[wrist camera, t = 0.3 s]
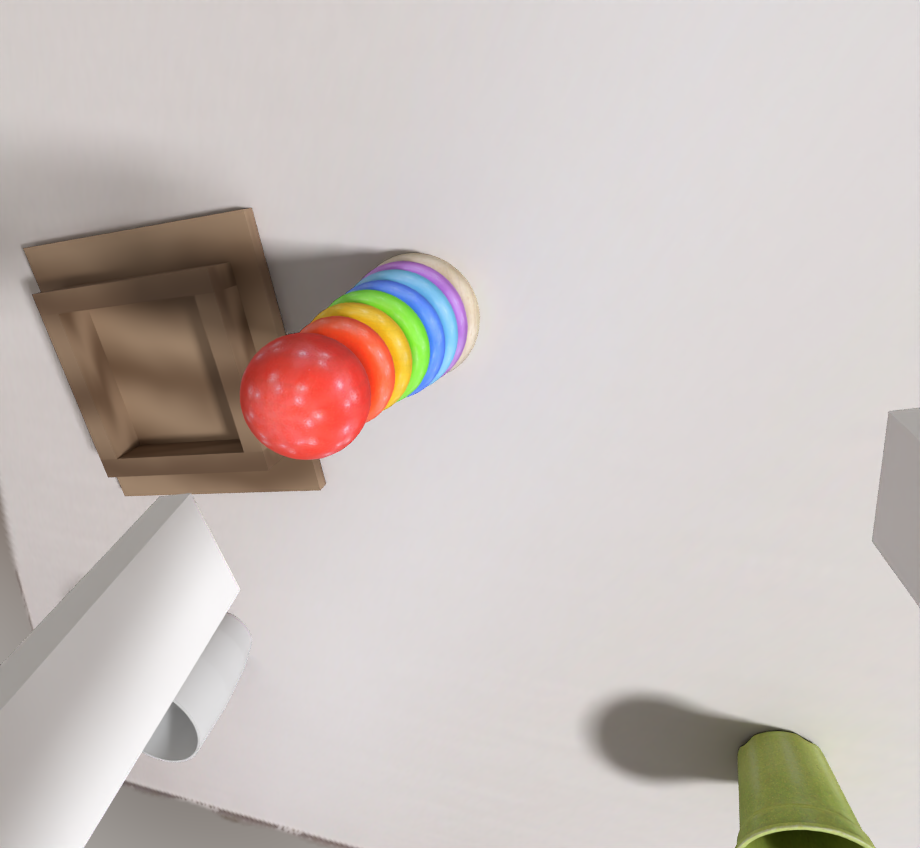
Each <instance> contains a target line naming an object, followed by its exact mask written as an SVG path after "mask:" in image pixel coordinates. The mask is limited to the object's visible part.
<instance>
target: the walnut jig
mask: <svg viewBox="0 0 920 848" xmlns="http://www.w3.org/2000/svg"><path fill="white" fill-rule="evenodd" d="M23 249H24V252H25V254H26V256H27V259H28V261H29V264H30V266H31V269H32V271H33V274H34V276H35V278H36V281H37V283H38V286H39V288H40V291H41V293H36V294H32V296H33V298H34V300H35V303H36V305H37V308H38V310H39V312H40V315H41V317H42V320H43V322H44V324H45V327H46V329H47V332H48V334H49V336H50V339H51V341H52V344H53V346H54V348H55V351H56V353H57V356H58V358H59V360H60V363H61V365H62V368H63V370H64V372H65V375H66V377H67V380H68V382H69V385H70V387H71V389H72V392H73V394H74V397H75V399H76V401H77V404H78V406H79V409H80V411H81V413H82V416H83V418H84V421H85V423H86V425H87V428H88V430H89V433H90V435H91V437H92V440H93V442H94V445H95V447H96V449H97V452H98V454H99V457H100V459H101V461H102V464H103V466H104V469H105V471H106V473H107V476H108V477H117V478H118V481H119V483H120V486H121V488H122V491H123V493H124V495H125V496H146V495H177V494H186V493H191V494H212V493H245V492H278V491H311V490H321V489H322V488H323V487H324V485H325V484H326V482H325V478H324V474H323V471H322V467H321V463H320V460H319V459H313V460H301V459H293V458H289V457H286V456H283V455H280V454H278V453H276V452H274V451H272V450H271V449H269V448H267V447H266V446H265V445H263V444H262V443H261V442H260V441H259V440H258V439H257V438H256V437H255V435H254V434H253V433H252V432H251V430H250V429H249V427H248V425H247V424H246V421H245V419H244V416H243V413H242V409H241V404H240V385H241V381H242V377H243V374H244V371H245V370H246V368H247V366H248V364H249V363H250V361H251V360H252V358H253V357H254V355H255V354H256V353H257V352H258V351H259V350H260V349H261V348H262V347H264V346H265V345H267V344H268V343H269V342H271V341H273V340H275V339H277V338H279V337H281V336H285V335H286V333H285V330H284V326H283V322H282V318H281V315H280V311H279V307H278V303H277V300H276V296H275V292H274V289H273V285H272V281H271V277H270V274H269V270H268V266H267V263H266V259H265V255H264V251H263V248H262V244H261V240H260V237H259V233H258V229H257V225H256V222H255V218H254V214H253V211H252V208H248V209H241V210H236V211H230V212H225V213H219V214H213V215H208V216H202V217H196V218H191V219H185V220H180V221H174V222H168V223H163V224H157V225H151V226H146V227H140V228H135V229H129V230H123V231H118V232H112V233H107V234H101V235H95V236H90V237H84V238H78V239H73V240H67V241H62V242H56V243H50V244H45V245H39V246H33V247H28V248H23Z"/></svg>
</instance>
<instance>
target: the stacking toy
mask: <svg viewBox="0 0 920 848" xmlns="http://www.w3.org/2000/svg"><path fill="white" fill-rule="evenodd" d="M479 320H480V316H479V307H478V303H477V299H476V296H475V294H474V292H473V289H472V288H471V286H470V284H469V282H468V281H467V280H466V278H465V277H464V276H463V275H462V274H461V273H460V272H459V271H458V270H457V269H456V268H455V267H453V266H452V265H451V264H449V263H448V262H446V261H444V260H442V259H440V258H438V257H435V256H432V255H428V254H422V253H407V254H401V255H397V256H395V257H392V258H390V259H388V260H386V261H384V262H382V263H381V264H380V265H378V266H377V267H376V268H375V269H373V270H372V271H370V272H369V273H368V274H366V275H365V276H364V277H363V278H362V279H361V281H360V282H359V283H357V284H356V285H355V287H354V288H352V289H351V290H349V291H348V292H347V293H346V294H345V295H343V296H341V297H339V298H338V299H337V300H335V301H334V302H333V303H332V304H331V305H330V306H329V307H328V308H327V309H325V310H324V311H322V312H321V313H319V314H318V315H317V316H316V317H315V318H314V319H313V321H312V322H311V323H310V324H309V325H307V326H306V327H304V328H303V329H302V330H301V331H300V332H299V333H294V334H289V335H285V336H281V337H279V338H277V339H275V340H273V341H271V342H269V343H268V344H267V345H265V346H264V347H262V348H261V349H260V350H259V351H258V352H257V353H256V354H255V355H254V357H253V358H252V360H251V361H250V363H249V364H248V366H247V368H246V370H245V371H244V374H243V377H242V381H241V385H240V404H241V409H242V413H243V416H244V419H245V421H246V424H247V425H248V427H249V429H250V430H251V432H252V433H253V434H254V435H255V437H256V438H257V439H258V440H259V441H260V442H261V443H262V444H263V445H265V446H266V447H267V448H269V449H271V450H272V451H274V452H276V453H278V454H280V455H283V456H286V457H289V458H293V459H301V460H313V459H320V458H324V457H327V456H329V455H332V454H334V453H336V452H338V451H340V450H342V449H343V448H345V447H346V446H347V445H349V444H350V443H351V442H352V441H353V440H354V439H355V438H356V437H357V435H358V434H359V433H360V431H361V430H362V428H363V426H364V424H365V423H366V422H368V421H370V420H372V419H373V418H375V417H376V416H377V415H379V414H380V413H381V412H382V411H383V410H385V409H387V408H389V407H390V406H392V405H393V404H394V403H395V402H397V401H400V400H402V399H404V398H405V397H409V396H411V395H414V394H416V393H418V392H420V391H421V390H423V389H424V388H425V387H427V386H429V385H430V384H432V383H434V382H435V381H436V380H438V379H439V378H440V377H442V376H443V375H445V374H446V373H448V372H450V371H452V370H454V369H455V368H456V367H458V366H459V365H460V364H461V363H462V362H463V361H464V360H465V359H466V358H467V356H468V355H469V353H470V352H471V350H472V348H473V346H474V344H475V342H476V339H477V336H478V331H479Z"/></svg>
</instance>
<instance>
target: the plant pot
mask: <svg viewBox="0 0 920 848" xmlns="http://www.w3.org/2000/svg"><path fill="white" fill-rule="evenodd" d="M737 760H738V784H739V816H740V831H739V833H738V837H737V845H736V847H735V848H875V847H874V845H873V843H872V841H871V840H870V839H869V837H868V836H867V835H866V834H865V833H864V832H863V831H862V829H861V827H860V825H859V823H858V821H857V819H856V817H855V815H854V814H853V812H852V810H851V808H850V806H849V804H848V802H847V800H846V798H845V796H844V794H843V792H842V790H841V788H840V786H839V784H838V782H837V780H836V778H835V776H834V774H833V772H832V770H831V768H830V766H829V764H828V762H827V760H826V758H825V756H824V755H823V753H822V751H821V750H820V749H819V747H818V746H817V745H815V744H812V743H810V742H808V741H806V740H805V739H803V738H802V737H800V736H799V735H797V734H794V733H790V732H783V731H771V732H764V733H760V734H757V735H754V736H753V737H752V738H751V739H750V740H749V741H748V742H747V743H746V744H745V745H744V746H741V747H740V749H739V751H738V756H737Z"/></svg>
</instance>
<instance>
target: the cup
mask: <svg viewBox="0 0 920 848" xmlns="http://www.w3.org/2000/svg"><path fill="white" fill-rule="evenodd" d="M251 645H252V636H251V633H250V631H249V629H248V628H247V626H246V625H245V624H244V623H243V622H242V621H241V620H240V619H238V618H237V617H235V616H234V615H232V614H229V613H226V614H225V616H224V618H223V619H222V621H221V623H220V624H219V626H218V627H217V629H216V631H215V632H214V634H213V636H212V637H211V639H210V641H209V642H208V644H207V646H206V647H205V649H204V651H203V652H202V654H201V655H200V657H199V659H198V660H197V662H196V664H195V665H194V667H193V669H192V670H191V672H190V674H189V675H188V677H187V678H186V680H185V682H184V683H183V685H182V687H181V688H180V690H179V692H178V693H177V695H176V697H175V698H174V700H173V702H172V703H171V705H170V706H169V708H168V710H167V711H166V713H165V715H164V716H163V718H162V720H161V721H160V723H159V725H158V726H157V728H156V730H155V731H154V733H153V734H152V736H151V738H150V739H149V741H148V743H147V744H146V746H145V748H144V749H143V751H142V753H144V754H146V755H148V756H150V757H152V758H155V759H158V760H161V761H166V762H184V761H187V760H190V759H191V758H193V757H194V756H195V755H196V754H197V752H198V751H199V749H200V748H201V746H202V744H203V743H204V741H205V740H206V738H207V736H208V735H209V733H210V732H211V730H212V728H213V727H214V725H215V724H216V722H217V720H218V719H219V717H220V716H221V714H222V712H223V711H224V709H225V708H226V706H227V704H228V702H229V700H230V698H231V695H232V693H233V691H234V689H235V687H236V685H237V683H238V681H239V679H240V677H241V675H242V673H243V671H244V668H245V665H246V661H247V658H248V655H249V652H250V649H251Z"/></svg>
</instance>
